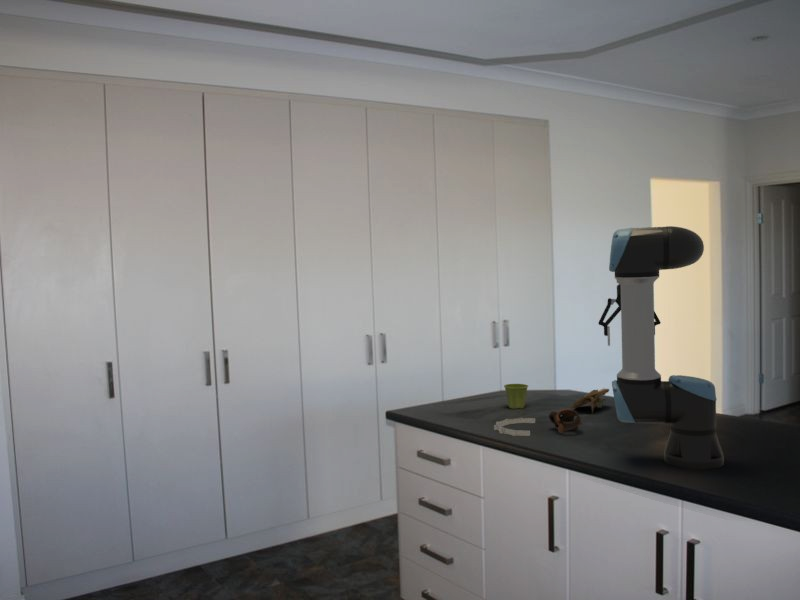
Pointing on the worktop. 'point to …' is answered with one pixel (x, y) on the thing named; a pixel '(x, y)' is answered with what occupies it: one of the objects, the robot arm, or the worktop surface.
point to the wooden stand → (591, 399)
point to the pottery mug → (565, 420)
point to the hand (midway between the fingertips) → (629, 345)
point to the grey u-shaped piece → (513, 421)
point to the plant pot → (516, 395)
